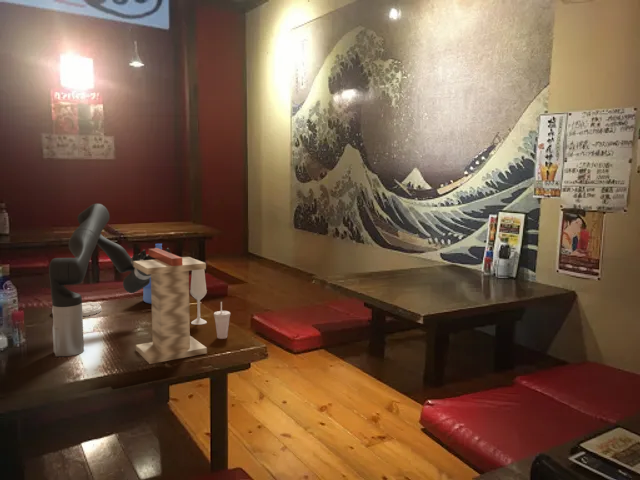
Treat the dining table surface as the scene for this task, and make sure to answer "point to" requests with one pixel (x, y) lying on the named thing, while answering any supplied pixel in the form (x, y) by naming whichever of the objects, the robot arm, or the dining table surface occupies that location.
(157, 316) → the beech pedestal
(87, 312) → the embossed medallion
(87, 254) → the robot arm
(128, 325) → the dining table surface
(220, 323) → the smoothie
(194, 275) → the champagne flute
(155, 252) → the lacquered bar
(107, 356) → the dining table surface
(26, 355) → the dining table surface
